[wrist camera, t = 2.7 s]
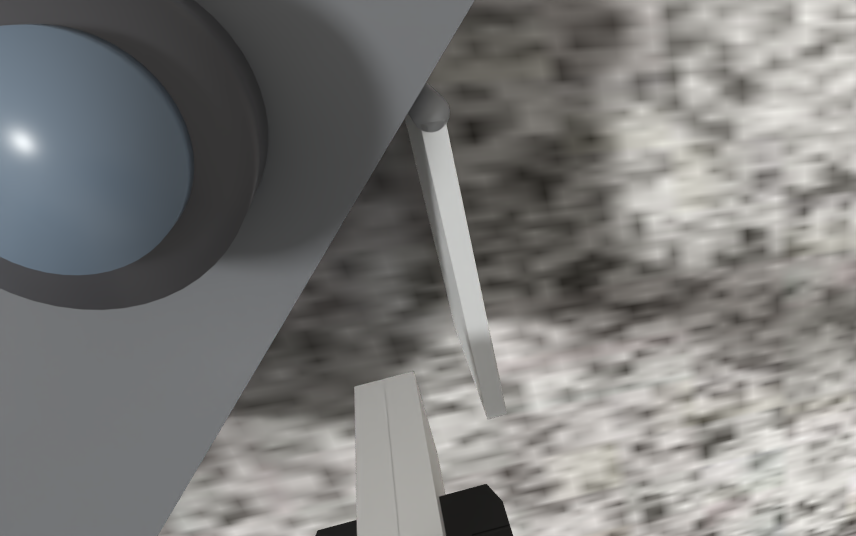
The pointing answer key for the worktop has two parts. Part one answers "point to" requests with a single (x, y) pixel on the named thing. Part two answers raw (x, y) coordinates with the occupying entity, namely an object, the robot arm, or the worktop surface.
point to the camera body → (171, 223)
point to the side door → (453, 242)
